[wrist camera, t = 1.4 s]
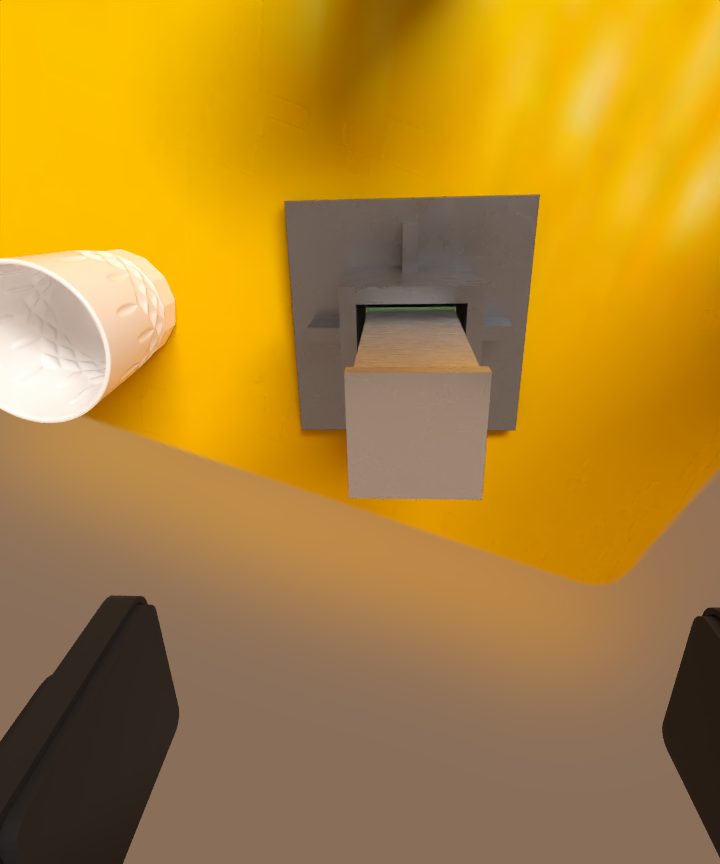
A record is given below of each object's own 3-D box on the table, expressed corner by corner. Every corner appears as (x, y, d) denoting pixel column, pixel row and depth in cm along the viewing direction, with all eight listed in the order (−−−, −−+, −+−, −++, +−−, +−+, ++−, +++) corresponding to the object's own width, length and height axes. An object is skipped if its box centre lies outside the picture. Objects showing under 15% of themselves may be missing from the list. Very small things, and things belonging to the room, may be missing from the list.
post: (448, 285, 31) (491, 372, 17) (445, 361, 33) (481, 499, 19) (369, 286, 32) (344, 372, 17) (370, 362, 34) (348, 497, 19)
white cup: (131, 212, 32) (25, 223, 23) (211, 326, 35) (144, 376, 26) (38, 281, 34) (-93, 315, 25) (120, 383, 37) (28, 449, 28)
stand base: (535, 194, 30) (578, 197, 23) (512, 424, 36) (541, 484, 29) (287, 200, 31) (253, 205, 24) (304, 423, 37) (280, 481, 30)
